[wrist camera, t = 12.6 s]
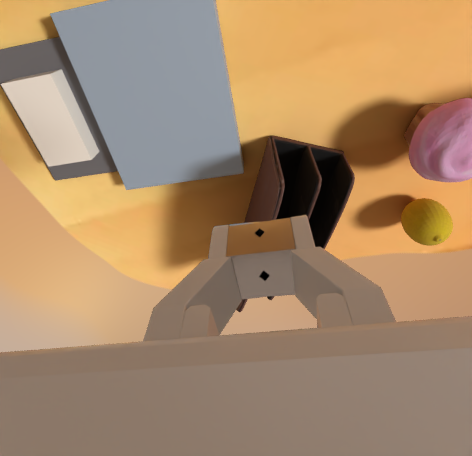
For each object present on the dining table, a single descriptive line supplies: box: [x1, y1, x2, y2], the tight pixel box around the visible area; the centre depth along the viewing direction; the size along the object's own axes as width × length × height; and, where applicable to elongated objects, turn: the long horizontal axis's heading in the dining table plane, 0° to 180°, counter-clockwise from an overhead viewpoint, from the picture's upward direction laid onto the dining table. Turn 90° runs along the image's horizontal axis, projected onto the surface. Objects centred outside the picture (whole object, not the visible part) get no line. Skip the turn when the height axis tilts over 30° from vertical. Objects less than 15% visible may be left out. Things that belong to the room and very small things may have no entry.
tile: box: [1, 69, 99, 167], centre depth 38 cm, size 10×6×2 cm, turn 10°
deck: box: [50, 0, 244, 190], centre depth 37 cm, size 20×16×2 cm
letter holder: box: [236, 136, 355, 312], centre depth 41 cm, size 10×20×14 cm, turn 168°
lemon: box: [401, 198, 453, 245], centre depth 42 cm, size 6×6×8 cm
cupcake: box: [404, 98, 472, 182], centre depth 35 cm, size 9×9×10 cm
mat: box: [0, 37, 118, 180], centre depth 39 cm, size 16×10×1 cm, turn 10°
